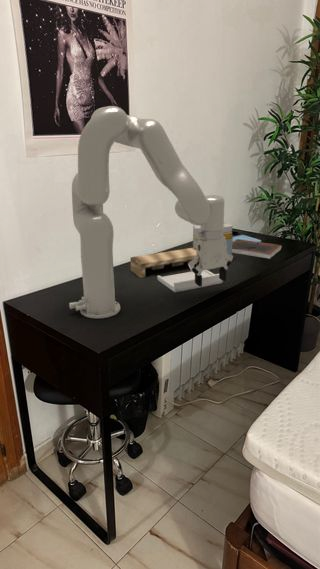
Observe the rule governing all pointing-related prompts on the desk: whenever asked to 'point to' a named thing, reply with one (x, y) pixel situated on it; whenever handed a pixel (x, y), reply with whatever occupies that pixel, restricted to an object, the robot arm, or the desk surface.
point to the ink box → (195, 235)
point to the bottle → (228, 237)
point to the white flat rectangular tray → (189, 280)
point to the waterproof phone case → (245, 238)
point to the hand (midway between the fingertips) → (210, 282)
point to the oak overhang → (161, 260)
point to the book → (255, 248)
